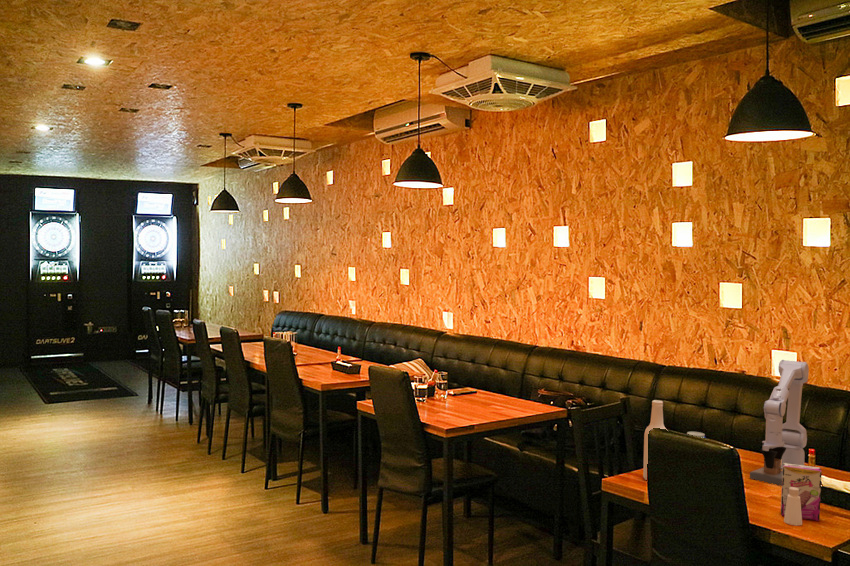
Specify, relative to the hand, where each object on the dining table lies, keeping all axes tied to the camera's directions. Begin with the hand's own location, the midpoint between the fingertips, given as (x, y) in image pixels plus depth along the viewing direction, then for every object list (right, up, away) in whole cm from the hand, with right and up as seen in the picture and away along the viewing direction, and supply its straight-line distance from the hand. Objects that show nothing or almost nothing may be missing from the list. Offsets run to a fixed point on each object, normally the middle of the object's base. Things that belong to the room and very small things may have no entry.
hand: (772, 466), depth 268 cm
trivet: (0, -5, 0) cm, 5 cm away
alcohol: (-47, -4, -4) cm, 47 cm away
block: (0, -2, 0) cm, 2 cm away
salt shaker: (-17, -5, -48) cm, 51 cm away
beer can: (-28, -4, +5) cm, 29 cm away
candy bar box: (-12, -5, -42) cm, 44 cm away
